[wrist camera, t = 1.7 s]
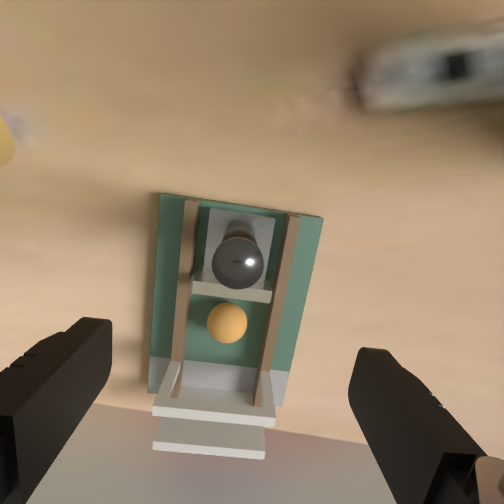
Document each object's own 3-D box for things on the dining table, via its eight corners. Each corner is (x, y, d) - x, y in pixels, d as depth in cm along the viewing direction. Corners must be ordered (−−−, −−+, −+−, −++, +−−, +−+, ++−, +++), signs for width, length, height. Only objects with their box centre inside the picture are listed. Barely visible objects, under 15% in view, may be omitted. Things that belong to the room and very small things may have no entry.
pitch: (164, 193, 27) (124, 200, 18) (319, 216, 28) (356, 235, 19) (151, 383, 33) (116, 462, 24) (280, 396, 34) (293, 477, 25)
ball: (212, 293, 29) (207, 311, 25) (249, 298, 29) (250, 317, 25) (207, 327, 30) (202, 349, 26) (244, 331, 30) (244, 354, 26)
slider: (206, 206, 26) (183, 224, 16) (278, 217, 26) (300, 241, 16) (199, 276, 28) (173, 333, 18) (266, 285, 28) (279, 345, 18)
